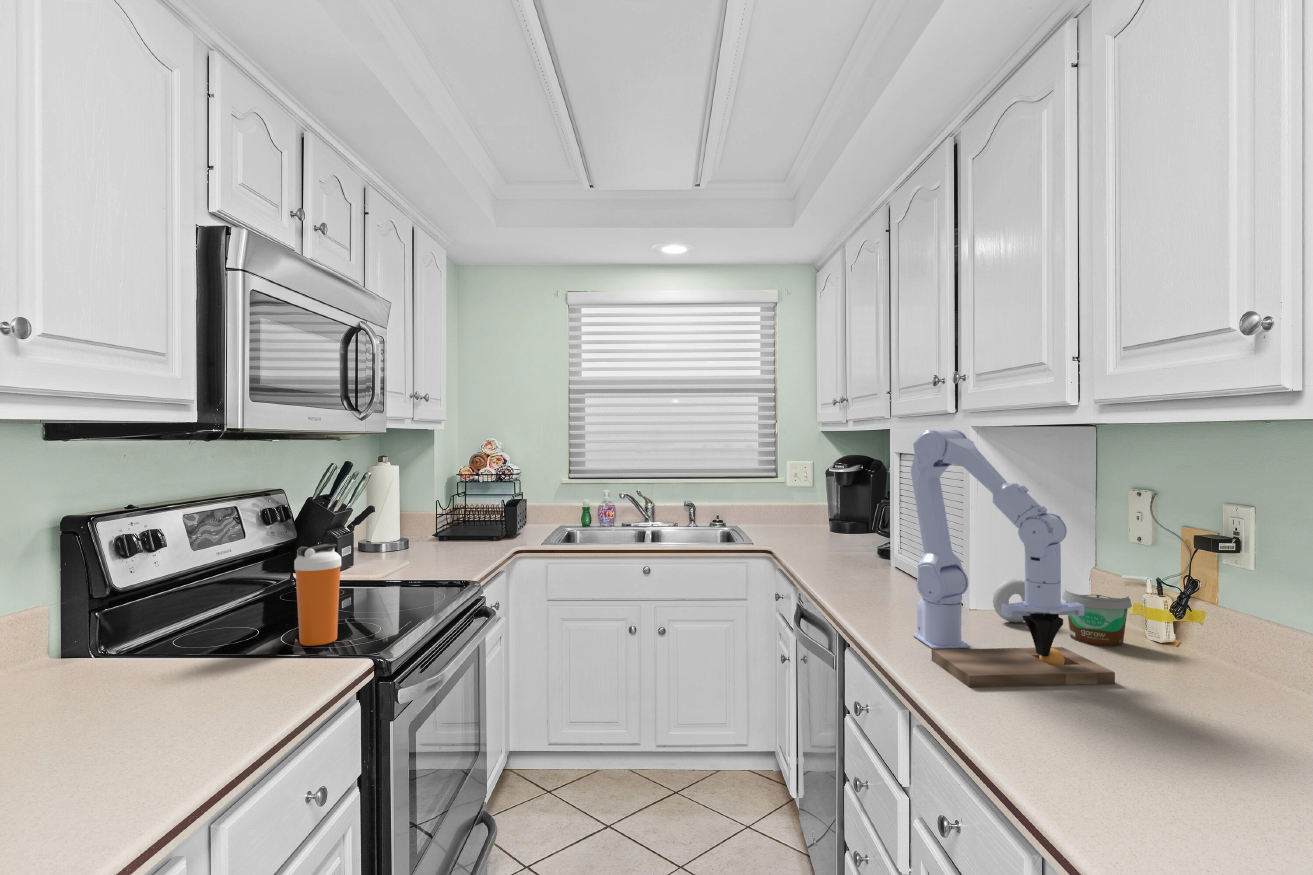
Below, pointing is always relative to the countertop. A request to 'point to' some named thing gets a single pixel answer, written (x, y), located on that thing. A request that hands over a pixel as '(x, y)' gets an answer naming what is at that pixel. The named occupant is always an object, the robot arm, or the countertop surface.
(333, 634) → the shaker bottle
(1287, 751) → the countertop surface
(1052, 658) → the ball
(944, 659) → the board
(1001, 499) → the robot arm
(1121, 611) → the food container
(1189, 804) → the countertop surface
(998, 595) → the donut
